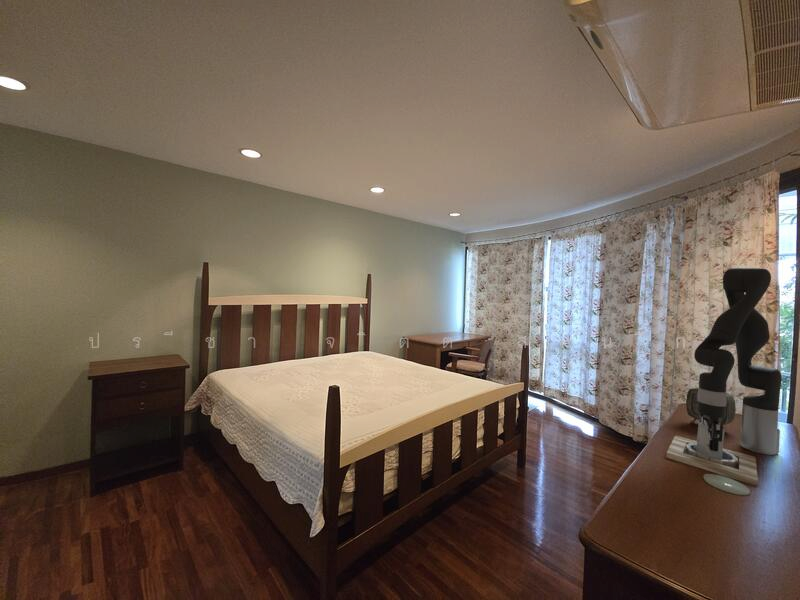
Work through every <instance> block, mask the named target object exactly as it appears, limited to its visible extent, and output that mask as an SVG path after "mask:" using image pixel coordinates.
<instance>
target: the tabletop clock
mask: <svg viewBox="0 0 800 600" xmlns="http://www.w3.org/2000/svg"><path fill="white" fill-rule="evenodd" d="M698 390H699V387H696V388H689V390H688V391H687V395H686V400H685V401H686V402H685V407H686V408H685V409H686V413H687V415H688V416H689V417H691V418H693V420H690V421H689V424H691V423H693V424H692V425H695V422H696V421H697V420H698V421H699V418H700V414H699V412H697V397H698ZM726 397H727V402H726V417H725V418H719V419H718V420H719V422H720V425H723V426H726V425H729V424H732V423H733V422H734V420H735V418H736V417H735V415H736V410H737V409H736V408H737V407H736V400H735V397H734V395H732V394H730V393H729V392H726ZM725 434H726V431H725V432H724V435H725Z"/></svg>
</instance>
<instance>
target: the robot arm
mask: <svg viewBox="0 0 800 600" xmlns="http://www.w3.org/2000/svg"><path fill="white" fill-rule="evenodd" d="M770 272H771V271H770V270H768V269H767V268H764V267H731V268H728V269H726V270H725V271H724V272H723V275H722V286H723V290H724V293H725V297H726V301H727V303H728V307H729V308H728V309H727V310H725V311H724V312H722V313H721V314H719V316H717V318H716V320H714V323H713V325H712V327H711V330H710V332H709V334H708V335H707V336H706V337H705V338H704V340H703V341H702V342H701V343H700V344H698V346H697V347H696V348H695V350H694V353H693V354H694V355H693V356H694V360H695V362H696V363H698V364H699V365H701V366H706V367H712V370H711V371H710V372H701V373H699V374H700V375H699V377H698V378H699V379H698V388H699V390H698V397H697V412H699V414H700V418H699V420H698V421H699V422H698V423H704V424H705V425H706V431H707V433H708V434H709V449H710V450H711V451H716V452H717V451H718V445H719V442H722V436H723V430H724V425H720V422H719V420H718V419H719V418H725V417H726V402H727V397H726V393H727V380H728V379H729V377H730V374H731V371H732V369H733V367H734V365H735V361H736V360H737V378H738V382H739V383H740V385H741V386H743V387H746V388H748V389H749V388H751V389H755V390H760V391H764V394H761V395H746V396H744V397H743V398H742V412H741V416H742V417H741V431H740V432H741V433H740V446H741V447H742V448H744V449H746V450H749V451H751V452H753V453H758V454H763V455H767V456H776V455H779V454H780V453H779V452H780V437H781V435H780V434H781V430H780V429H779V428H778V422H779V405H780V393H781V388H782V376H783V375H782V373H781V371H780V370H779V369H778V368H774V367H769V366H768V367H767V366H761V365H755V364H752V359H753V357H754V356H755V355H756V354H757V353H758V352H759V351H760V350H761V349H762V348H763V347H765V346H766V345H767V344H768V342H769V340H770V339H771V338H770V337H771V336H770V330H769V329H770V328H769V323H768V320H767V319H766V318H765V317H764V316H763V315H762V313H760V312H759V310H757V309H756V308H755V307H757V305H758V303H760V301H761V299H762V297H763V296H764V295H765V293H766V292H767V290H768V289H769V287H770V284H771V281H772V275H771V273H770ZM733 345H735V351H736V356H737V357H736V358H737V359H736V360H735V357H734V354H733V353H732V352H731V351H729V350H728V349H723V348H721V347H723V346H733ZM710 428H712V431H710V430H709V429H710ZM715 434H716V437H715ZM778 453H779V454H778Z"/></svg>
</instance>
